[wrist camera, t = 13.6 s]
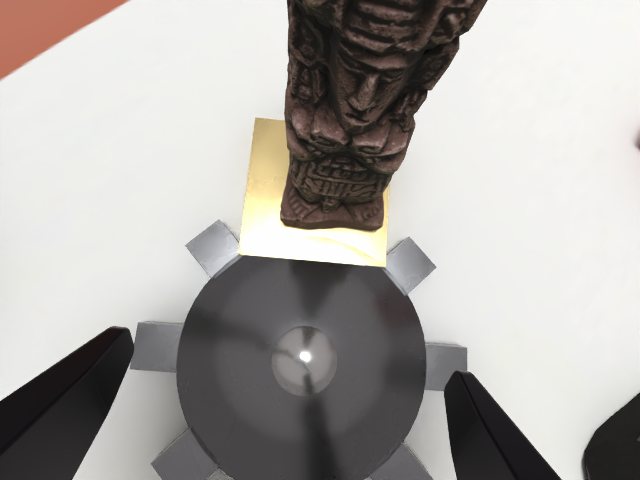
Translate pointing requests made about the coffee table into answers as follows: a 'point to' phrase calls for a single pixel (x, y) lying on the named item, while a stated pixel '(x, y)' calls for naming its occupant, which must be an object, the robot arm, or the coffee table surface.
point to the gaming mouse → (616, 446)
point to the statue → (359, 99)
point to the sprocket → (297, 346)
